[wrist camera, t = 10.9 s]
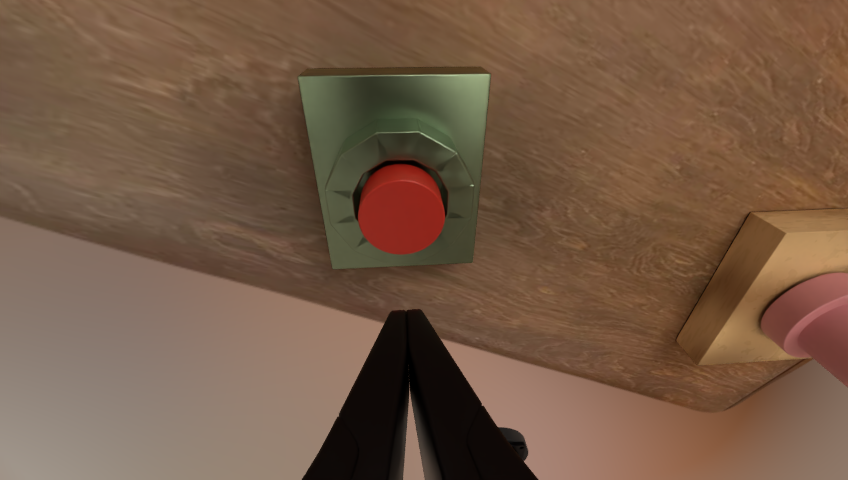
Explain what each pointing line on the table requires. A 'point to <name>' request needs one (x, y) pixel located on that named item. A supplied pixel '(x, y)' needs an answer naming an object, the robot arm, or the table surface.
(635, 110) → the table surface
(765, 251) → the doll stand
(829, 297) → the doll
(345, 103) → the green button box
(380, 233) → the button
